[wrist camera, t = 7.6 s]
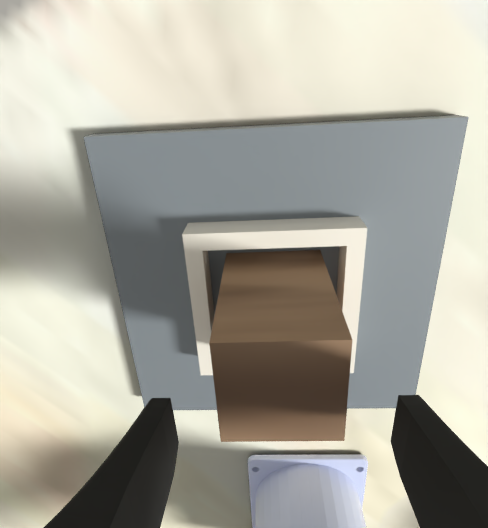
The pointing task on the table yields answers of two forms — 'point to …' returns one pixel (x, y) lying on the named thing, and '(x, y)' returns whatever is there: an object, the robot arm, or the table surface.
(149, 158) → the holder
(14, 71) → the table surface
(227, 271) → the peg
